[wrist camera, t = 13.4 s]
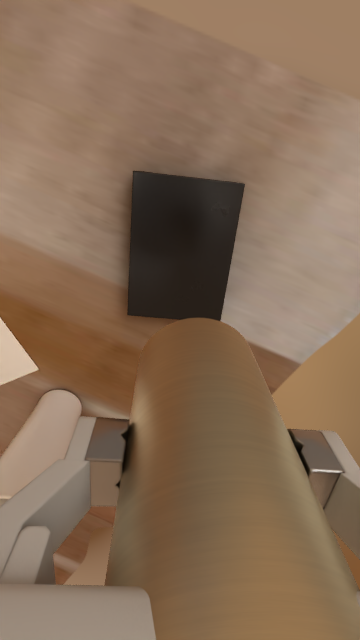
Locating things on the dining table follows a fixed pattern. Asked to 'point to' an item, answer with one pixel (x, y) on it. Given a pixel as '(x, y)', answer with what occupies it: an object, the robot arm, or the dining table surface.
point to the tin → (222, 502)
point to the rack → (181, 245)
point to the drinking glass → (39, 441)
